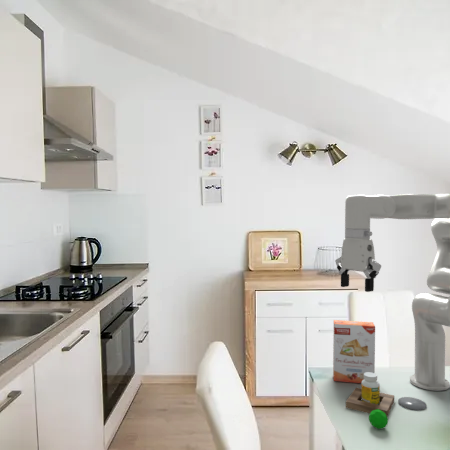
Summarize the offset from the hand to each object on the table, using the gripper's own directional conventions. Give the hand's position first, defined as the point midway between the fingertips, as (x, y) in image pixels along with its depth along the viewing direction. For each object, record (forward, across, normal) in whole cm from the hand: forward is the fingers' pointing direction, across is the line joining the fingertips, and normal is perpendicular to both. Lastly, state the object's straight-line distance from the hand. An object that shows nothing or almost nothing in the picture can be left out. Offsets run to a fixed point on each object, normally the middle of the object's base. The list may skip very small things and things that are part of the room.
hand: (356, 288), depth 131 cm
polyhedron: (+36, -14, +7) cm, 40 cm away
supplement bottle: (+36, -4, -3) cm, 36 cm away
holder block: (+36, -4, -3) cm, 36 cm away
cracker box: (+36, +12, -13) cm, 40 cm away
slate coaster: (+36, -10, -14) cm, 40 cm away
